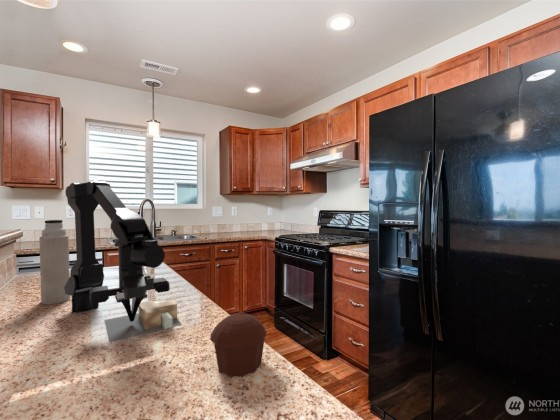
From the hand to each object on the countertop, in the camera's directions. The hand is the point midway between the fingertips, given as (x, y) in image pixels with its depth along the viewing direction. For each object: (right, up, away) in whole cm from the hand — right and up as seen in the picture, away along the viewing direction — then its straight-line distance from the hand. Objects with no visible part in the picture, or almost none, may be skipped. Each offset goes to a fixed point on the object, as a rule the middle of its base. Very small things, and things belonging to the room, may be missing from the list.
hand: (131, 321), depth 79 cm
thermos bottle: (-38, -2, +23) cm, 44 cm away
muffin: (+32, -2, -18) cm, 37 cm away
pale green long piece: (+6, -1, +4) cm, 8 cm away
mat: (+2, -2, +1) cm, 3 cm away
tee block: (+5, -1, +3) cm, 6 cm away
